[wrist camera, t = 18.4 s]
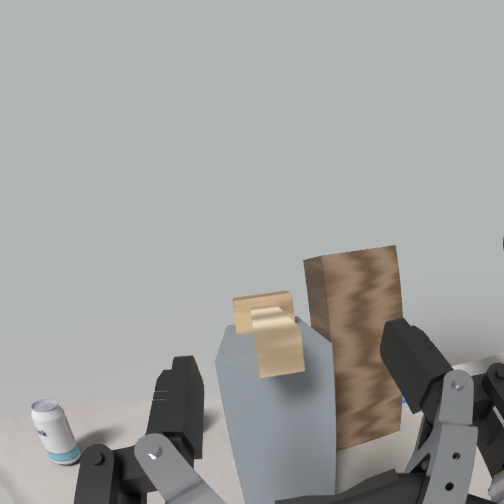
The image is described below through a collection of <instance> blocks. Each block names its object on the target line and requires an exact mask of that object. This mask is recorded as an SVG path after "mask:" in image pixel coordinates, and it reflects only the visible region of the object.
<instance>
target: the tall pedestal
mask: <svg viewBox="0 0 504 504" xmlns="http://www.w3.org/2000/svg"><path fill="white" fill-rule="evenodd" d="M303 261H304V269H305V277H306V284H307V293H308V301H309V310H310V319H311V328H313V329H314V330H315V331H316V332H318V333H319V334H320V335H322V336H323V337H324V338H325V339H327V340H328V341H329V342H331V343H332V351H333V365H334V383H335V406H336V451H338V450H341V449H345V448H348V447H352V446H355V445H358V444H362V443H365V442H368V441H371V440H374V439H377V438H380V437H382V436H385V435H388V434H390V433H393V432H396V431H398V430H400V421H401V410H402V397H403V395H402V394H401V392H400V390H399V388H398V387H397V385H396V383H395V381H394V380H393V378H392V376H391V374H390V373H389V371H388V369H387V368H386V366H385V364H384V363H383V361H382V359H381V356H380V344H381V339H382V335H383V330H384V325H385V323H386V322H387V321H390V320H393V319H397V318H400V317H402V318H403V313H402V298H401V286H400V277H399V267H398V260H397V253H396V246H395V245H394V246H387V247H381V248H373V249H366V250H359V251H352V252H346V253H338V254H331V255H324V256H319V257H315V258H311V259H307V260H303Z"/></svg>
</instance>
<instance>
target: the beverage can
mask: <svg viewBox="0 0 504 504" xmlns="http://www.w3.org/2000/svg"><path fill="white" fill-rule="evenodd" d="M31 407H32V414H31V416H32V419H33V422H34V424H35V427H36V429H37V431H38V434H39V436H40V438H41V440H42V442H43V445H44V447H45V449H46V451H47V453H48V455H49V457H50V459H51V460H52V461H53V462H55V463H58V464H61V465H71V464H73V463H75V462H76V461H77V460H78V459H79V457H80V455H81V452H80V450H79V447H78V445H77V443H76V441H75V438H74V436H73V434H72V431H71V429H70V426H69V424H68V421H67V418H66V416H65V413H64V410H63V409H62V408H61V407H60V406H59V405H58V403H57V402H56V401H55V400H49V399H46V400H40V401H37V402H35V403H33V404H32V406H31Z"/></svg>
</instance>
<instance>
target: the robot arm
mask: <svg viewBox="0 0 504 504" xmlns="http://www.w3.org/2000/svg"><path fill="white" fill-rule="evenodd" d="M503 248H504V240H503ZM380 356H381V359H382V361H383V363H384V364H385V366H386V368H387V369H388V371H389V373H390V374H391V376H392V378H393V380H394V381H395V383H396V385H397V387H398V388H399V390H400V392H401V394H402V395H403V397H404V399H405V401H406V402H407V404H408V406H409V408H410V410H411V412H412V413H413V414H415V413H417V412H419V411H422V412H423V413H424V415H423V417H422V421H421V425H420V430H419V434H418V438H417V442H416V445H415V449H414V452H413V455H412V457H411V459H410V461H409V463H408V465H407V467H406V470H405V472H404V473H396V471H395V468H394V469H392V470H389V471H387V472H384V473H382V474H379V475H376V476H374V477H371V478H368V479H366V480H365V481H363V482H361V483H359V484H358V485H356V486H354V487H352V488H351V489H349V490H347V491H345V492H343V493H341V494H337V495H306V496H300V497H295V498H289V499H283V500H276V501H275V504H504V427H503V426H502V424H501V422H500V420H499V419H498V417H497V415H496V414H495V412H494V410H493V408H494V406H496V408H497V409H498V411H499V413H500V414H501V416H502V418H503V419H504V364H502V363H494V364H492V365H491V366H490V367H489V368H488V370H487V372H486V373H485V374H479V375H474V376H470V375H469V374H468V373H467V372H465V371H463V370H454V369H453V368H452V367H451V365H450V364H449V363H448V362H447V360H446V359H445V358H444V356H443V355H442V354H441V353H440V351H439V350H438V349H437V347H435V345H434V344H433V343H432V341H430V339H429V338H428V336H427V335H426V334H425V333H424V332H423V331H422V330H420V329H419V328H417V327H416V326H410V325H409V324H408V322H407V321H406V320H405V319H404V318H402V317H400V318H397V319H393V320H390V321H387V322H386V323H385V325H384V330H383V335H382V339H381V344H380ZM203 411H204V384H203V380H202V377H201V375H200V372H199V370H198V367H197V364H196V362H195V359H194V357H193V356H192V355H191V356H180V357H174V359H173V364H172V369H171V370H163V372H162V373H161V375H160V376H159V377H158V379H157V382H156V386H155V392H154V396H153V401H152V406H151V411H150V416H149V422H148V427H147V432H146V434H145V436H143V437H141V438H140V439H139V440H138V441H137V443H136V445H134V446H131V447H127V448H122V449H117V450H111V449H109V448H108V447H107V446H105V445H102V444H95V445H92V446H90V447H88V448H87V449H86V450H85V451H84V453H83V455H82V459H81V464H80V469H79V474H78V480H77V485H76V492H75V498H74V504H147V493H148V492H153V491H159V493H160V494H161V495H162V497H163V498H164V500H165V504H227V503H226V502H224V501H223V500H222V499H221V498H220V497H219V496H218V495H217V494H216V493H215V492H214V491H213V490H212V489H211V488H210V486H209V485H208V484H207V483H206V482H205V481H204V480H203V479H202V478H201V477H200V476H199V475H198V474H197V472H196V471H195V470H194V459H202V442H203ZM476 446H478V448H479V450H480V452H481V455H482V457H483V459H484V461H485V463H486V465H487V468H488V470H489V472H490V475H491V477H492V479H493V480H492V482H491V486H490V488H489V489H488V495H489V496H492V499H491V501H490V500H486V499H483V498H480V497H477V496H474V495H471V494H468V490H469V486H470V481H471V477H472V471H473V466H474V460H475V453H476Z"/></svg>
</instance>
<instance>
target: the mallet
mask: <svg viewBox="0 0 504 504" xmlns="http://www.w3.org/2000/svg"><path fill="white" fill-rule="evenodd" d="M232 304H233V312H234V319H235V326H236V333H237V334H244V333H252V332H254V339H255V346H256V353H257V360H258V368H259V375H260V378H264V377H271V376H278V375H284V374H290V373H296V372H301V371H305V366H304V356H303V346H302V336H301V328H300V327H299V326H298V325H297V324H296V323H295V318H294V310H293V302H292V294H291V293H290V292H287V291H281V292H273V293H266V294H258V295H252V296H243V297H235V298H233V300H232Z"/></svg>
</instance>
